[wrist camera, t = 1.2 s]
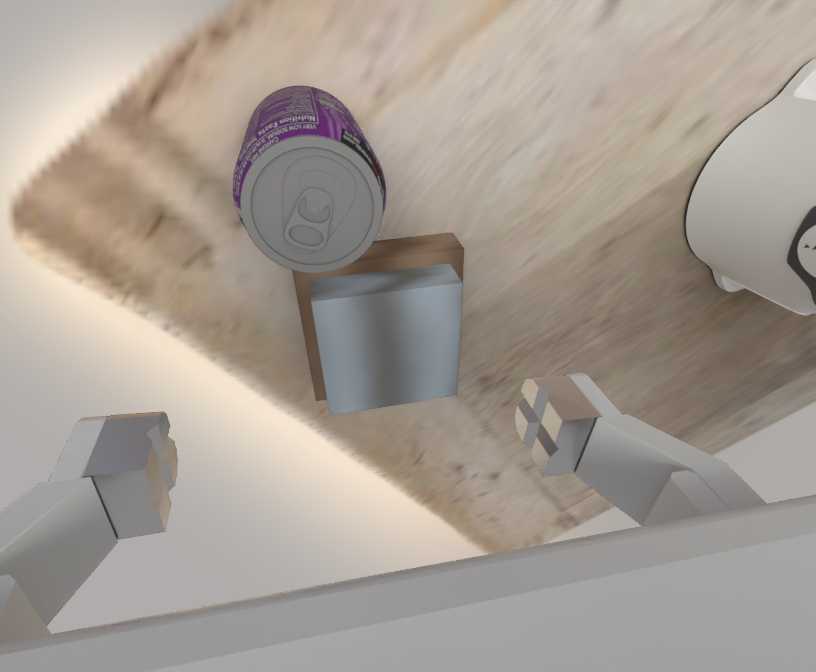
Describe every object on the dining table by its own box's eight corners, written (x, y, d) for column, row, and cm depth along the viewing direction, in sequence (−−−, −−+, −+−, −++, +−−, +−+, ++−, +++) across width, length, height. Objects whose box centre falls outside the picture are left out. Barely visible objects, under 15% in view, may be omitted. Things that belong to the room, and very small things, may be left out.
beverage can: (340, 213, 34) (362, 297, 24) (236, 180, 31) (213, 259, 21) (375, 111, 30) (417, 160, 21) (262, 63, 28) (249, 94, 18)
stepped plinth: (452, 232, 36) (477, 267, 31) (448, 357, 43) (468, 402, 38) (291, 250, 34) (292, 289, 29) (314, 377, 41) (318, 427, 36)
